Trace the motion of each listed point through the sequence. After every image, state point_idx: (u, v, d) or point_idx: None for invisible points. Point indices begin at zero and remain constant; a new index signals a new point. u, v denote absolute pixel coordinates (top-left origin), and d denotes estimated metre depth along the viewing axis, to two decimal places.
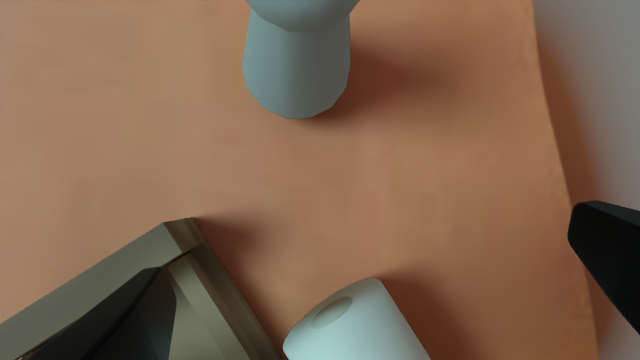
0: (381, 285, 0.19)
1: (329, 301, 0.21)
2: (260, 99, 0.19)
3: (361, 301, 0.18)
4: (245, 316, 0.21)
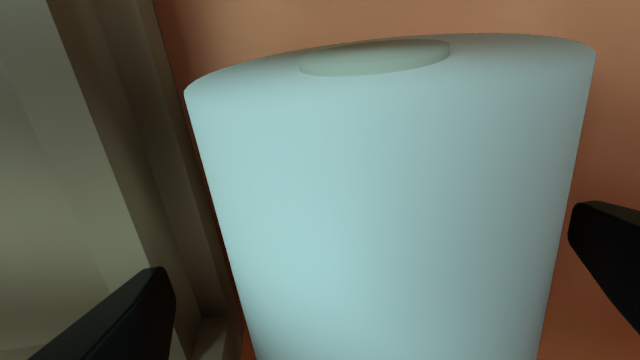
0: (569, 41, 0.06)
1: None
2: None
3: (498, 54, 0.05)
4: None
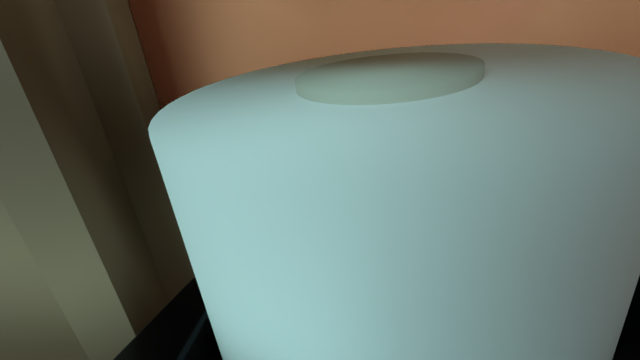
0: (636, 58, 0.04)
1: None
2: None
3: (550, 77, 0.04)
4: None
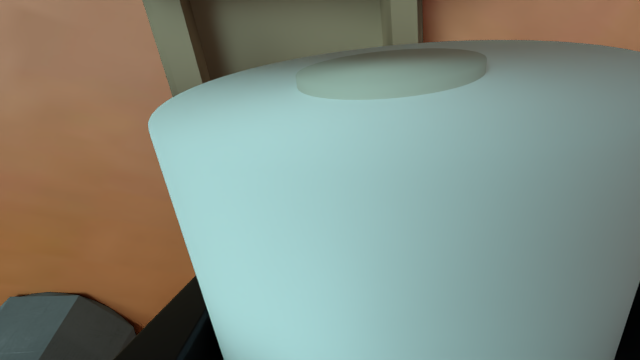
0: (639, 53, 0.04)
1: None
2: None
3: (553, 72, 0.04)
4: None
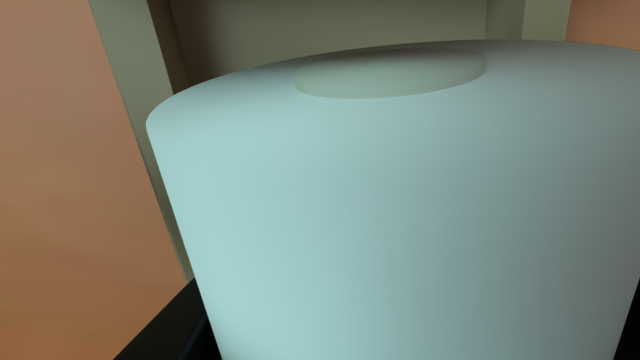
0: (638, 52, 0.04)
1: None
2: None
3: (552, 71, 0.04)
4: None
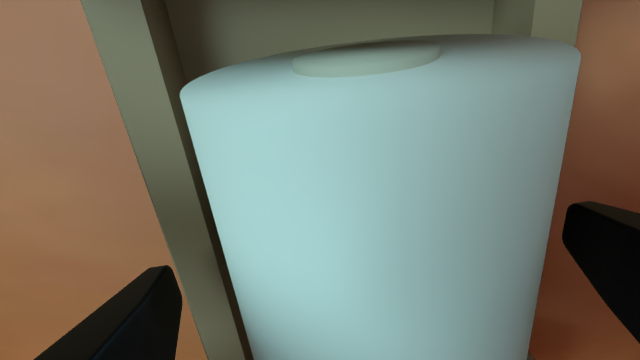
0: (557, 42, 0.06)
1: None
2: None
3: (487, 56, 0.05)
4: None
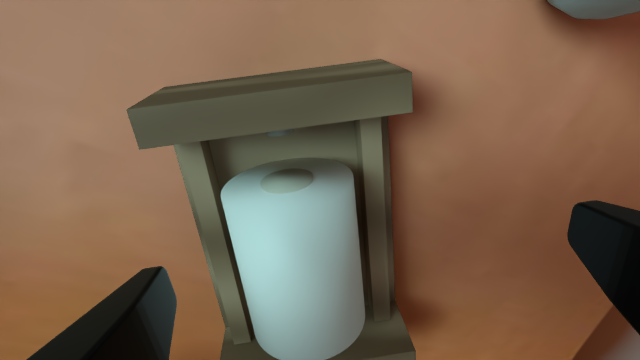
0: (351, 178, 0.17)
1: (287, 165, 0.19)
2: None
3: (324, 185, 0.16)
4: (386, 179, 0.21)
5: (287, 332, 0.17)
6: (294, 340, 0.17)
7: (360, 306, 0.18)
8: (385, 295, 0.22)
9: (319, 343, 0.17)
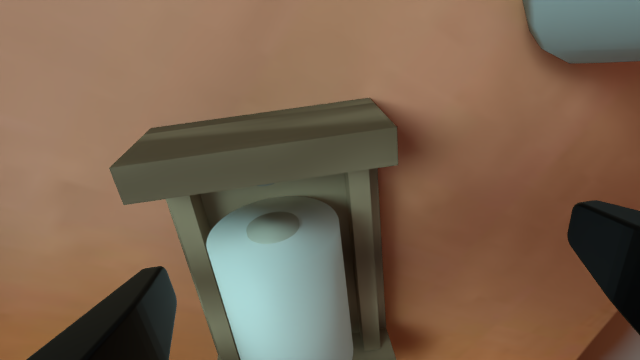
0: (337, 227, 0.16)
1: (275, 205, 0.19)
2: (545, 18, 0.15)
3: (309, 235, 0.16)
4: (375, 215, 0.21)
5: None
6: None
7: (347, 346, 0.19)
8: (375, 327, 0.22)
9: None
